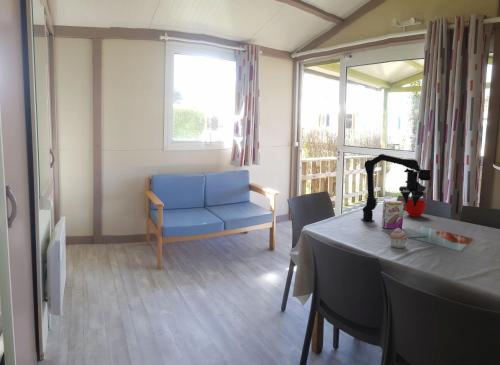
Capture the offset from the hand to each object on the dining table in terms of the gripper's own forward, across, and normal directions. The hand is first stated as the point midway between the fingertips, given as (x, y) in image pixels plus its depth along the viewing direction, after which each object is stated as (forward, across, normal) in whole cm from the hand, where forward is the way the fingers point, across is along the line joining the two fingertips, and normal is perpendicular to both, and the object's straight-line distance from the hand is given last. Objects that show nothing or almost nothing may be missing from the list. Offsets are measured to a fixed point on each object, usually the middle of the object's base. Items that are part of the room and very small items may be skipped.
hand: (410, 204), depth 240 cm
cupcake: (+13, -38, +28) cm, 49 cm away
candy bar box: (+13, -5, +14) cm, 20 cm away
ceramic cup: (+13, +22, -14) cm, 29 cm away
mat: (+13, -17, +13) cm, 25 cm away
